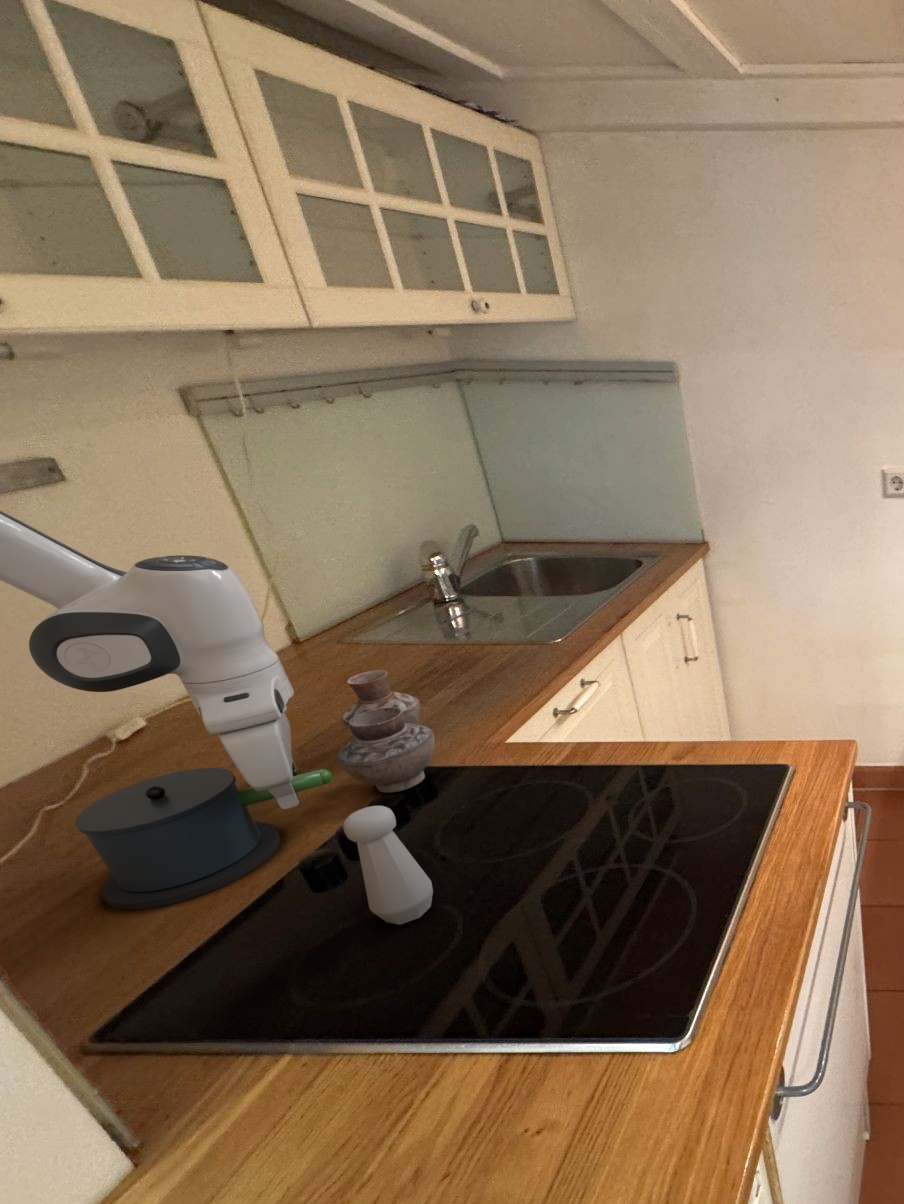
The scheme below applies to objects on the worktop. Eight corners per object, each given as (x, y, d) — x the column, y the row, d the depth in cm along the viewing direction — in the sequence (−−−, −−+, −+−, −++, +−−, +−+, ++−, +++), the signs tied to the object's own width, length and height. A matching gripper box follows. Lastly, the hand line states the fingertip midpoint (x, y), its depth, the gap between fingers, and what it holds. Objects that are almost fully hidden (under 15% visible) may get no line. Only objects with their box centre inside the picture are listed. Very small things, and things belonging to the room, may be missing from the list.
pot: (102, 910, 84) (52, 835, 80) (126, 852, 94) (83, 782, 90) (349, 834, 96) (317, 766, 92) (347, 790, 106) (319, 726, 102)
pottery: (432, 724, 127) (407, 658, 122) (452, 784, 109) (424, 709, 104) (349, 746, 121) (319, 677, 116) (356, 814, 103) (320, 735, 98)
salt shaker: (441, 915, 84) (399, 816, 78) (378, 938, 81) (330, 836, 75) (437, 888, 88) (397, 792, 82) (377, 908, 85) (331, 810, 79)
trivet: (94, 930, 83) (89, 923, 83) (115, 862, 95) (111, 855, 94) (281, 869, 92) (277, 862, 92) (280, 813, 104) (277, 807, 103)
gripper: (212, 673, 97) (259, 768, 103) (201, 727, 82) (257, 834, 88) (275, 660, 100) (317, 752, 106) (276, 710, 86) (324, 813, 92)
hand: (290, 790), depth 97 cm, fingers open, 8 cm apart
